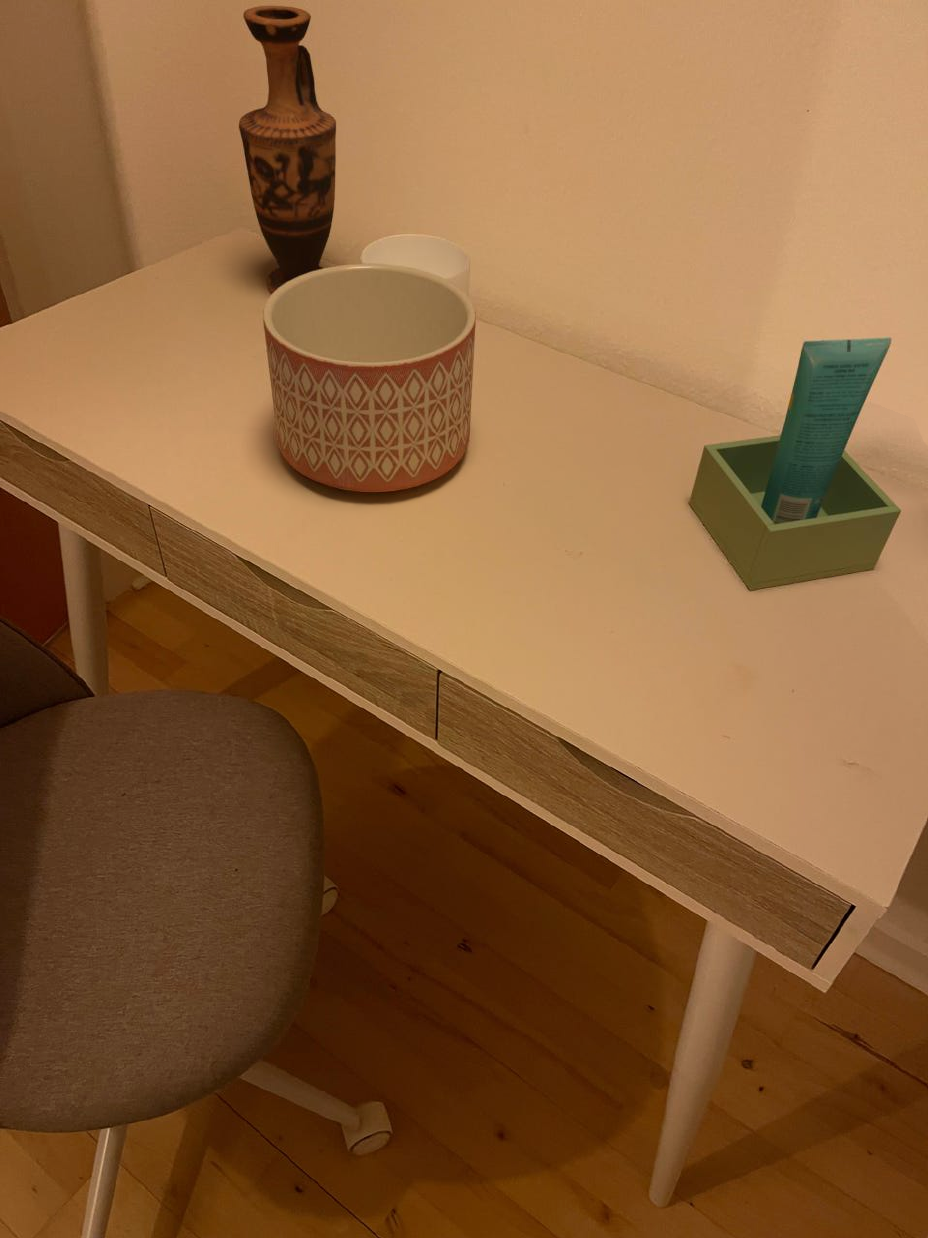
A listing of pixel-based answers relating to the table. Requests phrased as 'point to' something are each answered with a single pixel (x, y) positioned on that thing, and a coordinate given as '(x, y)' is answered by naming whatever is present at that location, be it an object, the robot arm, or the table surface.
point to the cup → (422, 256)
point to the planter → (371, 375)
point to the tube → (820, 423)
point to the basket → (790, 550)
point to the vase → (289, 148)
